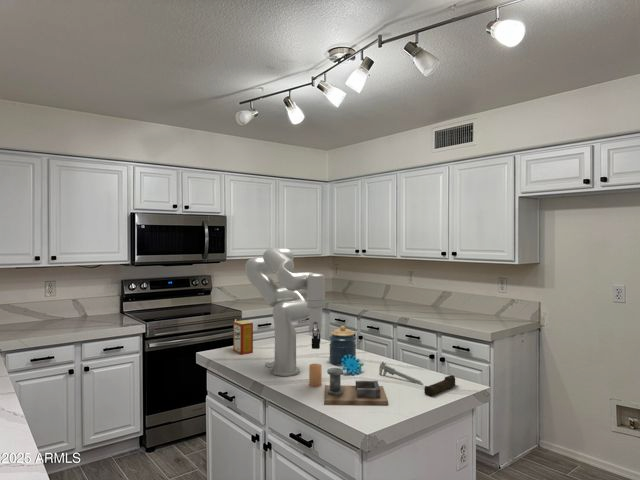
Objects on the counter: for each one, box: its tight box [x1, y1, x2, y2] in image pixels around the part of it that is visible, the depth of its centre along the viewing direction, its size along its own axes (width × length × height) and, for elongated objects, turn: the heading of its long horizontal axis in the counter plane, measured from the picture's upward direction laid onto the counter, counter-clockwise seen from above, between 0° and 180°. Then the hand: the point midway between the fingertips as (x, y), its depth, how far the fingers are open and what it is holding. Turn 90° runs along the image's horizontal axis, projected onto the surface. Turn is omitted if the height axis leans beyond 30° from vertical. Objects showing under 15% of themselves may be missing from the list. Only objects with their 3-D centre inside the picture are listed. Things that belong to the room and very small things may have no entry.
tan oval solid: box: [308, 363, 323, 388], centre depth 180 cm, size 5×5×8 cm
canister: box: [328, 325, 357, 366], centre depth 213 cm, size 13×13×18 cm
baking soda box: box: [232, 319, 254, 356], centre depth 231 cm, size 10×6×16 cm
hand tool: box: [424, 374, 456, 397], centre depth 174 cm, size 19×4×5 cm, turn 129°
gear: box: [340, 354, 365, 376], centre depth 197 cm, size 11×6×10 cm
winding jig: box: [323, 367, 389, 406], centre depth 167 cm, size 23×16×10 cm
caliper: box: [378, 361, 424, 386], centre depth 187 cm, size 20×1×6 cm, turn 52°
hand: (316, 345), depth 180 cm, fingers open, 9 cm apart
